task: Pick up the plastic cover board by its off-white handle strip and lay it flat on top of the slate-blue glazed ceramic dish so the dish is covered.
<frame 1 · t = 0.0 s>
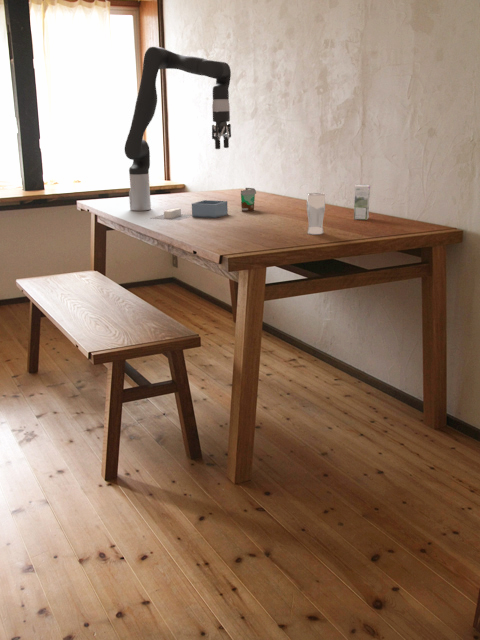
hand: (222, 148, 286), 29 cm above the table, tool pointing down, fingers open, 8 cm apart
dish: (210, 215, 291), on the table
lid: (172, 218, 291), on the table
beer glass: (315, 233, 245), on the table
food container: (249, 210, 304), on the table
syrup box: (361, 219, 275), on the table
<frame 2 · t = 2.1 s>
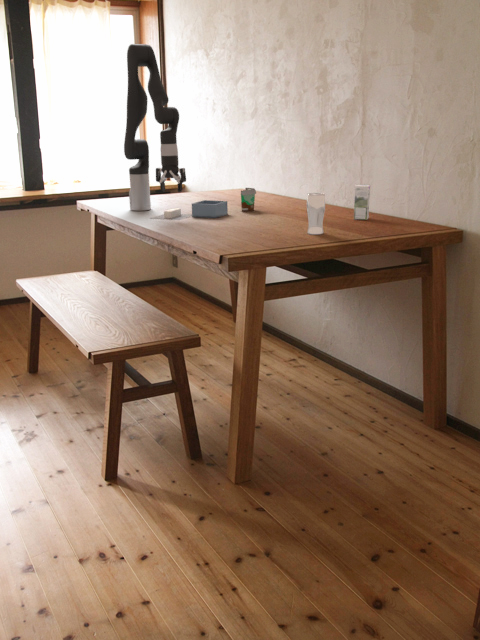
hand: (171, 191, 287), 11 cm above the table, tool pointing down, fingers open, 8 cm apart
nothing on the table moved.
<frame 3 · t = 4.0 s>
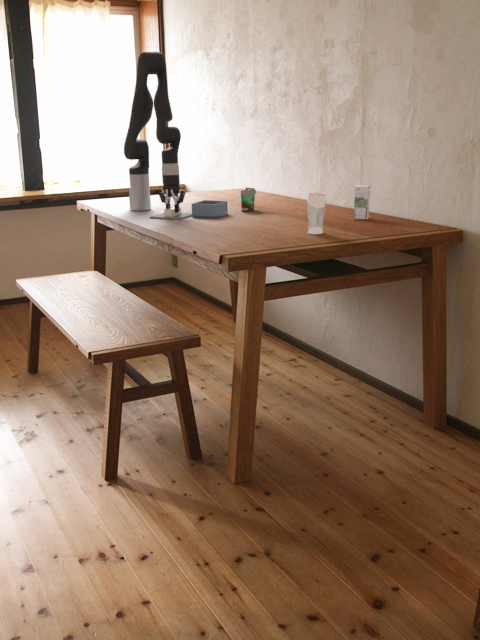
hand: (172, 212, 290), 2 cm above the table, tool pointing down, fingers closed on lid, 3 cm apart
lid: (173, 216, 290), on the table, touching gripper
everything else where it was.
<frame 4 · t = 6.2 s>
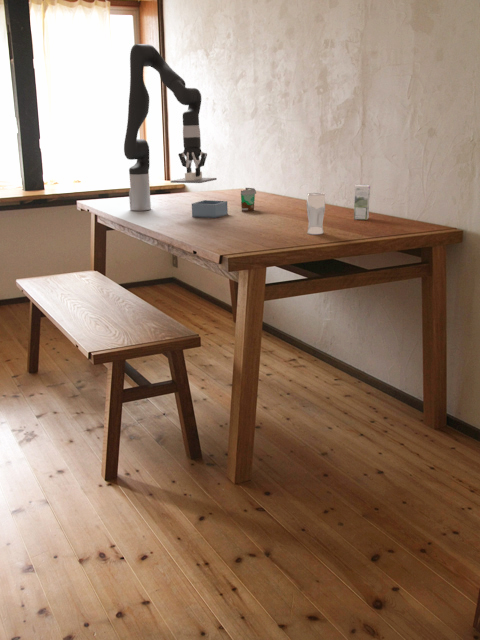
hand: (193, 176, 285), 18 cm above the table, tool pointing down, fingers closed on lid, 3 cm apart
lid: (193, 181, 285), point 16 cm above the table, touching gripper
everything else where it was.
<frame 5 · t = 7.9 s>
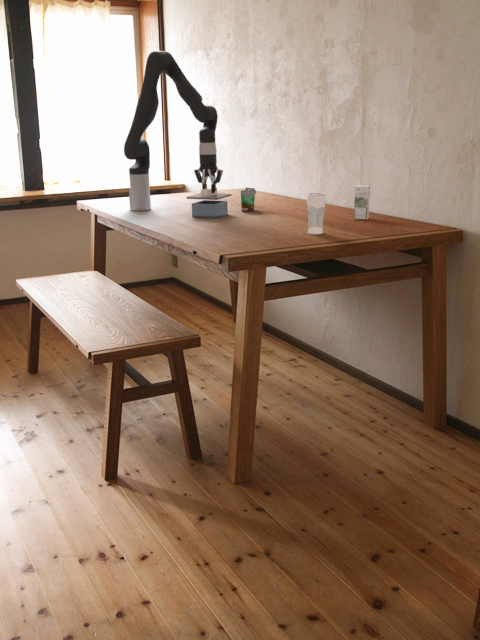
hand: (209, 192, 288), 10 cm above the table, tool pointing down, fingers closed on lid, 3 cm apart
lid: (209, 197, 289), point 8 cm above the table, touching gripper
everything else where it was.
when the fingers open (9 cm above the table, at t = 8.8 s): lid drops 1 cm, resting on dish.
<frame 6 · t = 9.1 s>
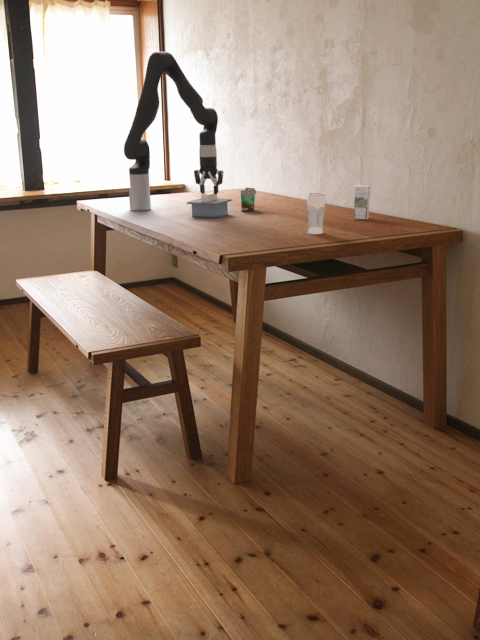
hand: (209, 193, 288), 10 cm above the table, tool pointing down, fingers open, 6 cm apart
lid: (209, 202, 289), point 6 cm above the table, touching dish
everything else where it was.
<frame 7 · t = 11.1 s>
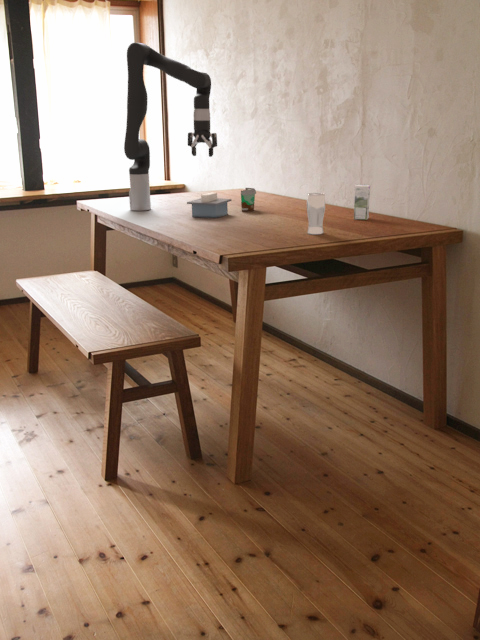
hand: (202, 156, 295), 26 cm above the table, tool pointing down, fingers open, 8 cm apart
nothing on the table moved.
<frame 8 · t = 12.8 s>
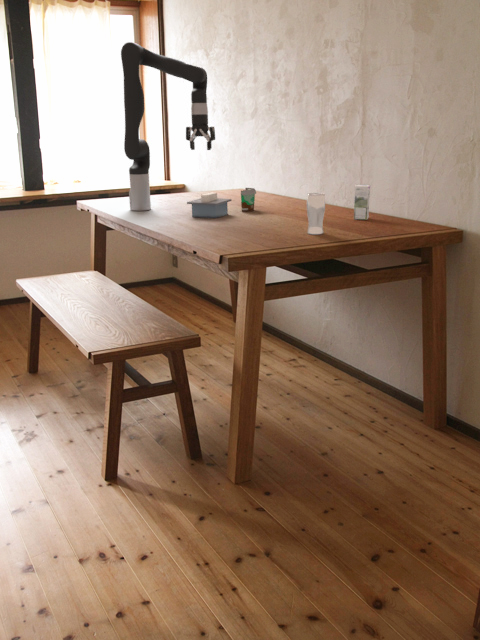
hand: (200, 149, 299), 28 cm above the table, tool pointing down, fingers open, 8 cm apart
nothing on the table moved.
at the end: lid 0.1 cm off-centre on the dish, point 6.0 cm above the dish's base; lid tilted 0°; the gripper is holding nothing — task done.
